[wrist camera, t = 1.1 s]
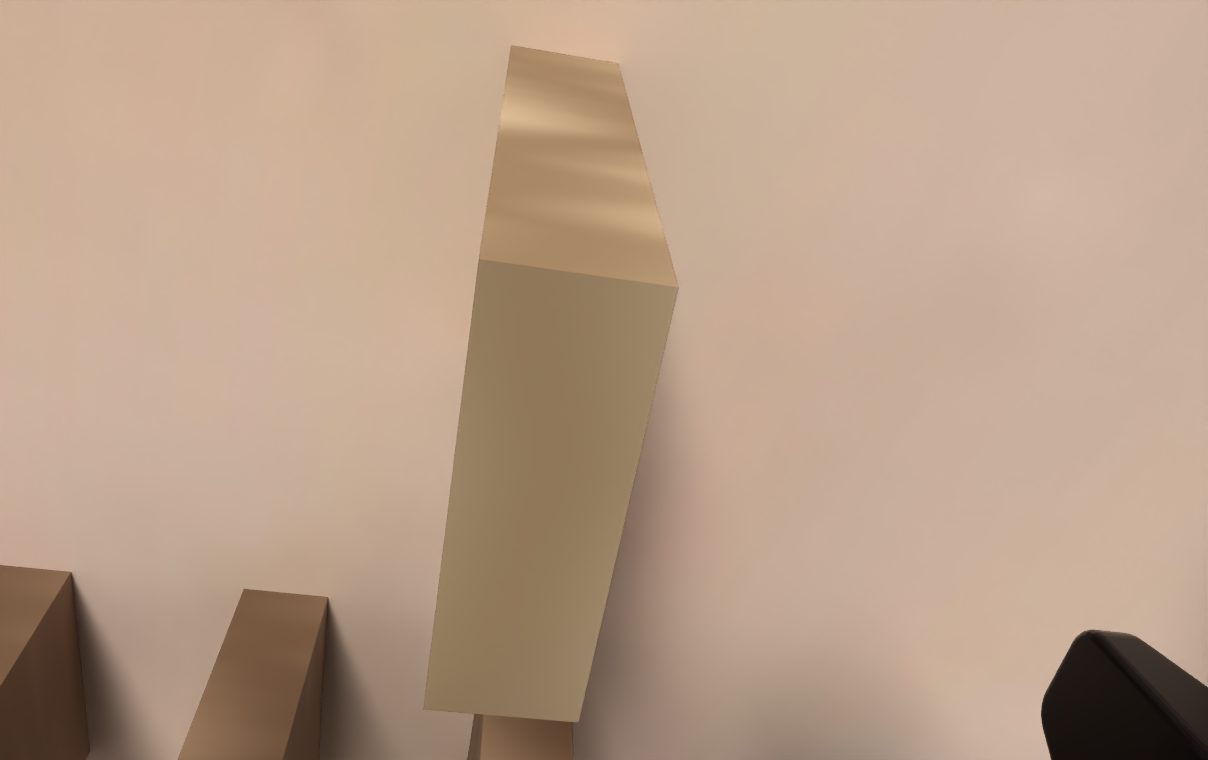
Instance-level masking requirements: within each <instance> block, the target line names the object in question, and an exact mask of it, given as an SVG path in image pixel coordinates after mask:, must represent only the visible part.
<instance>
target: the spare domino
mask: <svg viewBox="0 0 1208 760" xmlns="http://www.w3.org/2000/svg"><path fill="white" fill-rule="evenodd" d="M678 288H679V286H678V283H677V279H676V275H675V272H674V268H673V264H672V260H671V257H670V253H669V249H668V246H667V242H666V238H665V234H664V231H663V227H662V223H661V220H660V216H659V212H658V208H657V205H656V201H655V197H654V194H653V190H652V186H651V183H650V179H649V175H648V171H647V168H646V164H645V160H644V157H643V153H642V149H641V145H640V142H639V138H638V134H637V131H636V127H635V123H634V120H633V116H632V112H631V108H630V105H629V101H628V97H627V94H626V90H625V86H624V82H623V79H622V75H621V71H620V68H619V64H618V63H612V62H606V61H600V60H594V59H588V58H582V57H576V56H571V55H565V54H559V53H553V52H547V51H541V50H535V49H529V48H523V47H517V46H511V51H510V57H509V64H508V70H507V77H506V84H505V90H504V97H503V103H502V110H501V117H500V123H499V130H498V136H497V143H496V149H495V156H494V163H493V169H492V176H491V182H490V189H489V196H488V202H487V209H486V215H485V222H484V229H483V235H482V242H481V248H480V255H479V262H478V270H477V278H476V286H475V295H474V303H473V311H472V319H471V327H470V335H469V343H468V351H467V359H466V368H465V376H464V384H463V392H462V400H461V408H460V416H459V424H458V432H457V441H456V449H455V457H454V465H453V473H452V481H451V489H450V497H449V505H448V514H447V522H446V530H445V538H444V546H443V554H442V562H441V570H440V578H439V587H438V595H437V603H436V611H435V619H434V627H433V635H432V643H431V651H430V660H429V668H428V676H427V684H426V692H425V700H424V708H423V709H425V710H437V711H448V712H460V713H472V714H484V715H496V716H507V717H519V718H531V719H543V720H555V721H566V722H579V718H580V714H581V709H582V705H583V701H584V696H585V692H586V688H587V683H588V679H589V675H590V670H591V666H592V662H593V657H594V653H595V649H596V644H597V640H598V636H599V631H600V627H601V623H602V618H603V614H604V610H605V605H606V601H607V597H608V592H609V588H610V584H611V579H612V575H613V571H614V566H615V562H616V558H617V553H618V549H619V545H620V540H621V536H622V531H623V527H624V523H625V518H626V514H627V510H628V505H629V501H630V497H631V492H632V488H633V484H634V479H635V475H636V471H637V466H638V462H639V458H640V453H641V449H642V445H643V440H644V436H645V432H646V427H647V423H648V419H649V414H650V410H651V406H652V401H653V397H654V393H655V388H656V384H657V380H658V375H659V371H660V367H661V362H662V358H663V354H664V349H665V345H666V340H667V336H668V332H669V327H670V323H671V319H672V314H673V310H674V306H675V301H676V297H677V293H678Z"/></svg>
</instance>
